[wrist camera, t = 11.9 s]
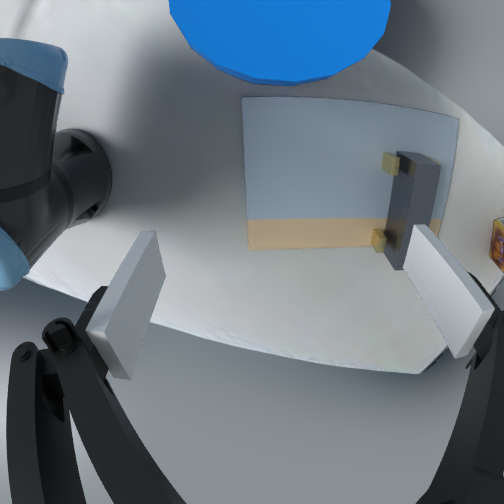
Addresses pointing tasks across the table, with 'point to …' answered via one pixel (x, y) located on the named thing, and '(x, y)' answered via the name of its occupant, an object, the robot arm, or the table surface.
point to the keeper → (392, 168)
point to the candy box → (498, 243)
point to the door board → (332, 167)
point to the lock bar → (409, 203)
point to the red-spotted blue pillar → (281, 36)
